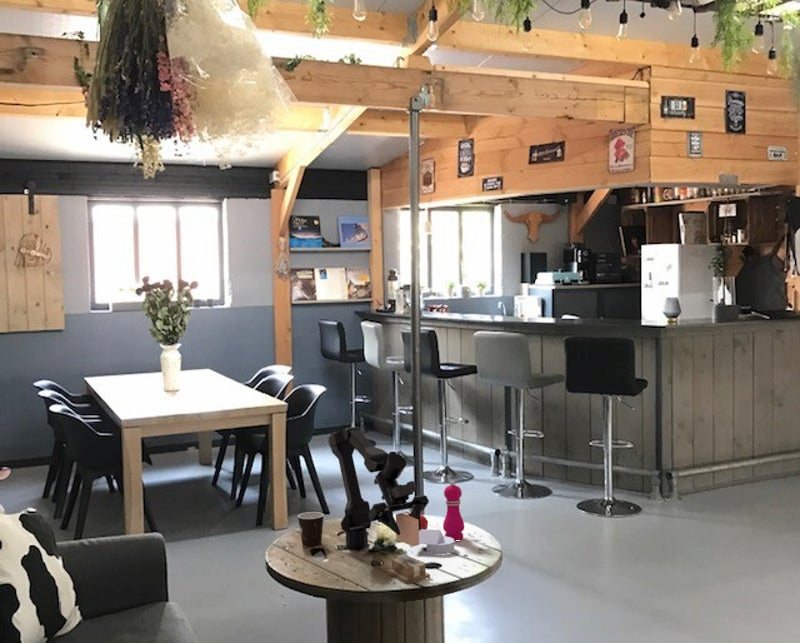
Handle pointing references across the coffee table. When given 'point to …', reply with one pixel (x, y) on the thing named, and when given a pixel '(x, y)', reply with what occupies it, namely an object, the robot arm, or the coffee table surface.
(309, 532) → the coffee mug
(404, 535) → the peach rectangular panel
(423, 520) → the pomegranate
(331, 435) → the robot arm
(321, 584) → the coffee table surface
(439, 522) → the coffee table surface
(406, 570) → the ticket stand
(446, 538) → the wedge on round base
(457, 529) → the pepper mill
